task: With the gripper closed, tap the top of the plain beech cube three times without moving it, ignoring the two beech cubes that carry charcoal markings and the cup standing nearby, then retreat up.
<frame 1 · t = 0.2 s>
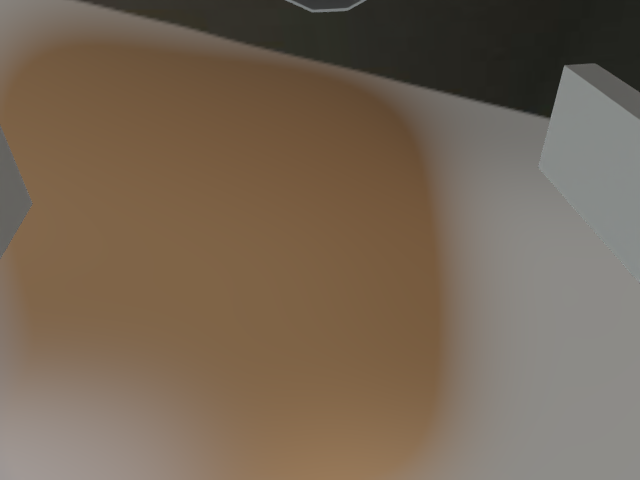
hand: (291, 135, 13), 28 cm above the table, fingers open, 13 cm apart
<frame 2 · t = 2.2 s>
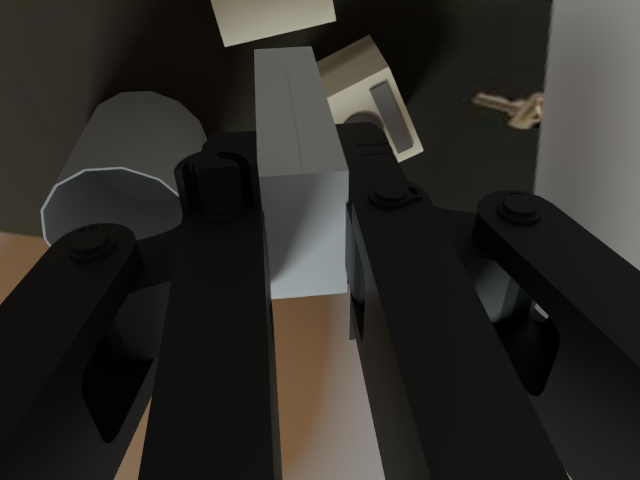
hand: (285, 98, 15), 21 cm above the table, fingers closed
striped block b: (346, 94, 37), on the table
cup: (148, 146, 38), on the table
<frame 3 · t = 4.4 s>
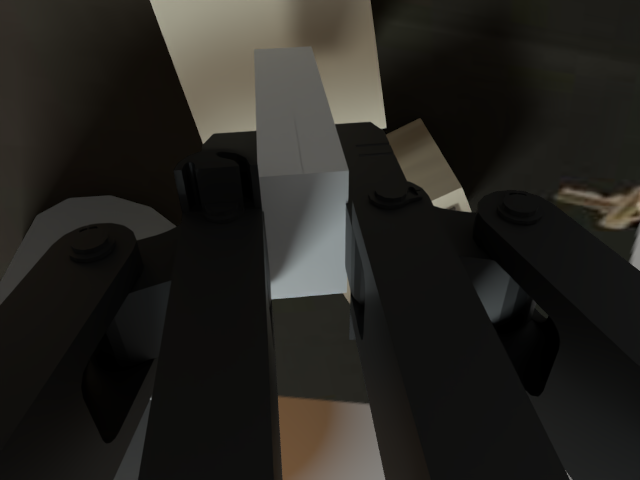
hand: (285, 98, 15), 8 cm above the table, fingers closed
plain block: (270, 7, 21), on the table
striped block b: (383, 193, 27), on the table
cup: (112, 261, 28), on the table
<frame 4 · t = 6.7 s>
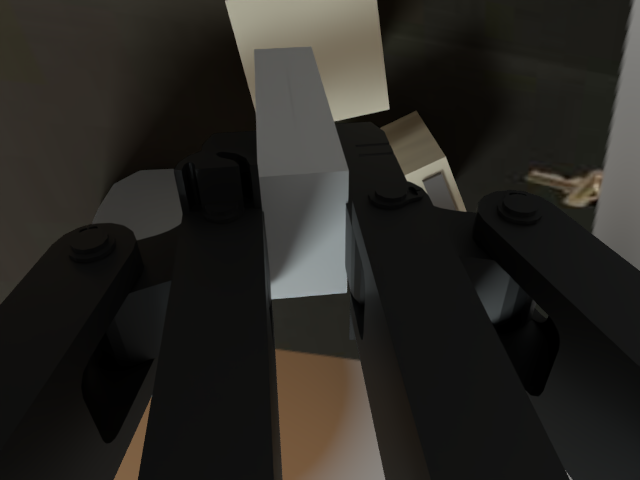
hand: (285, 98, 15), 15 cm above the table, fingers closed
plain block: (303, 24, 28), on the table
striped block b: (387, 172, 33), on the table
cup: (168, 225, 34), on the table
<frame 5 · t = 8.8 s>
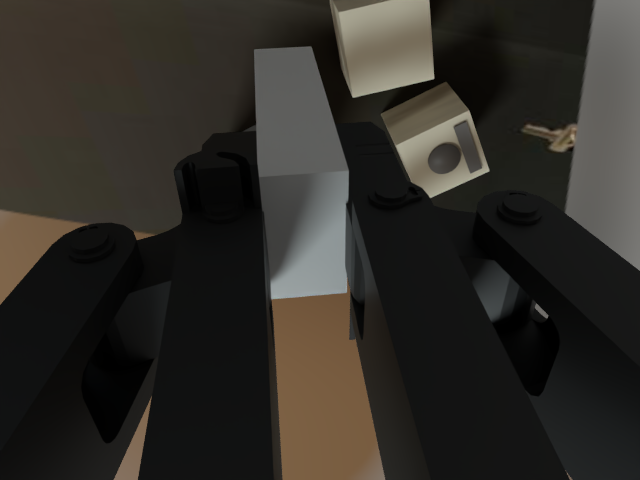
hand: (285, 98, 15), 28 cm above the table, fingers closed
plain block: (372, 22, 41), on the table
striped block b: (424, 126, 47), on the table
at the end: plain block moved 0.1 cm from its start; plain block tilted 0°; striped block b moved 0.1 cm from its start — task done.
